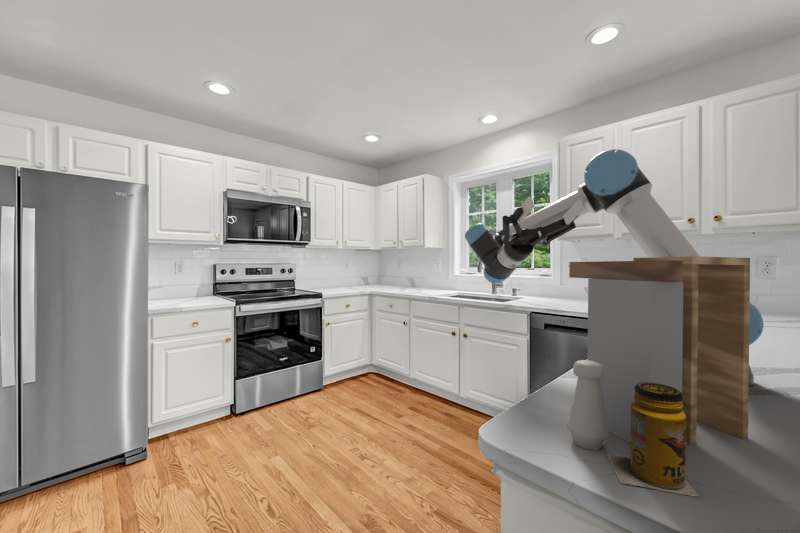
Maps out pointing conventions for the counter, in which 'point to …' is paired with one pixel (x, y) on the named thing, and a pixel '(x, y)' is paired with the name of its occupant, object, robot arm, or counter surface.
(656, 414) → the condiment
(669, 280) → the walnut rail
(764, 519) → the counter surface
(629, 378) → the stone block
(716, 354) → the oak shelf
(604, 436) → the salt shaker
